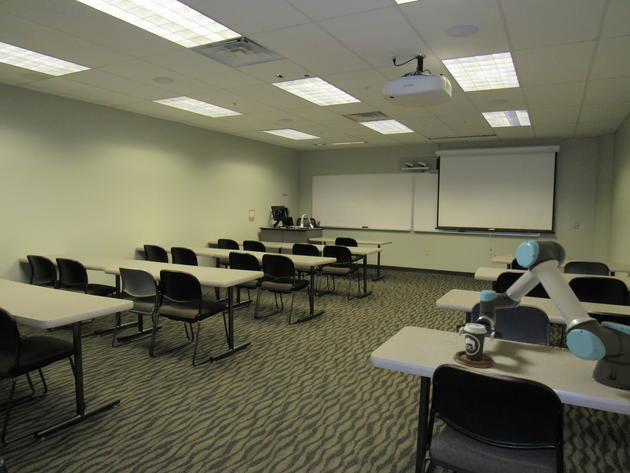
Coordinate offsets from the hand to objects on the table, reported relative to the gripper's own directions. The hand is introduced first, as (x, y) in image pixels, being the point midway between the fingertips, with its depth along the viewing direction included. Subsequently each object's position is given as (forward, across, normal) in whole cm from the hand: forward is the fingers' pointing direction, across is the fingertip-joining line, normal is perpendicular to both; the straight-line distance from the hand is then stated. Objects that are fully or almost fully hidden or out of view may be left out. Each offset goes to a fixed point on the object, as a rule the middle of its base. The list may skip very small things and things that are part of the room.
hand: (475, 335), depth 181 cm
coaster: (+3, 0, -11) cm, 11 cm away
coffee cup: (+3, 0, -10) cm, 10 cm away
